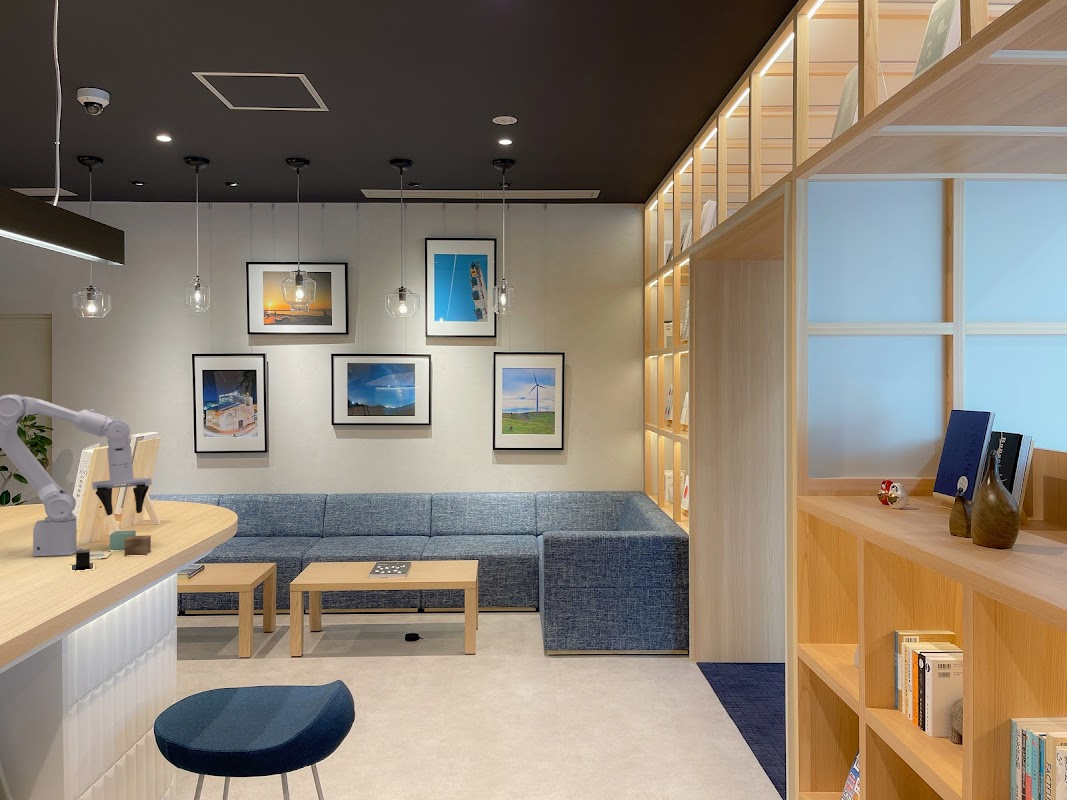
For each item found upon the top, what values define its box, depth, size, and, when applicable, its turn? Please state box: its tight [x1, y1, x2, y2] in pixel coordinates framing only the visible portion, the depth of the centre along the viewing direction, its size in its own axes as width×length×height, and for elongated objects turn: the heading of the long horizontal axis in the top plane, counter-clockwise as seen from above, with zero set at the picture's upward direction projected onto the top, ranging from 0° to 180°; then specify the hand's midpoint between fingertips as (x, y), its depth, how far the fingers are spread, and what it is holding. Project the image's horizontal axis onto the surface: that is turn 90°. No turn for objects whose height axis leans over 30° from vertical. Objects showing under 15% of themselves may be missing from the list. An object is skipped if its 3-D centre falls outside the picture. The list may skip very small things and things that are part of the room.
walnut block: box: [124, 535, 152, 557], centre depth 207 cm, size 5×5×4 cm
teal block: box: [109, 530, 137, 551], centre depth 214 cm, size 5×5×4 cm
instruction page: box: [90, 550, 109, 561], centre depth 204 cm, size 7×10×1 cm
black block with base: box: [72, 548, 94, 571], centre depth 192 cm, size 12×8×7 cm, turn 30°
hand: (124, 513), depth 214 cm, fingers open, 7 cm apart
